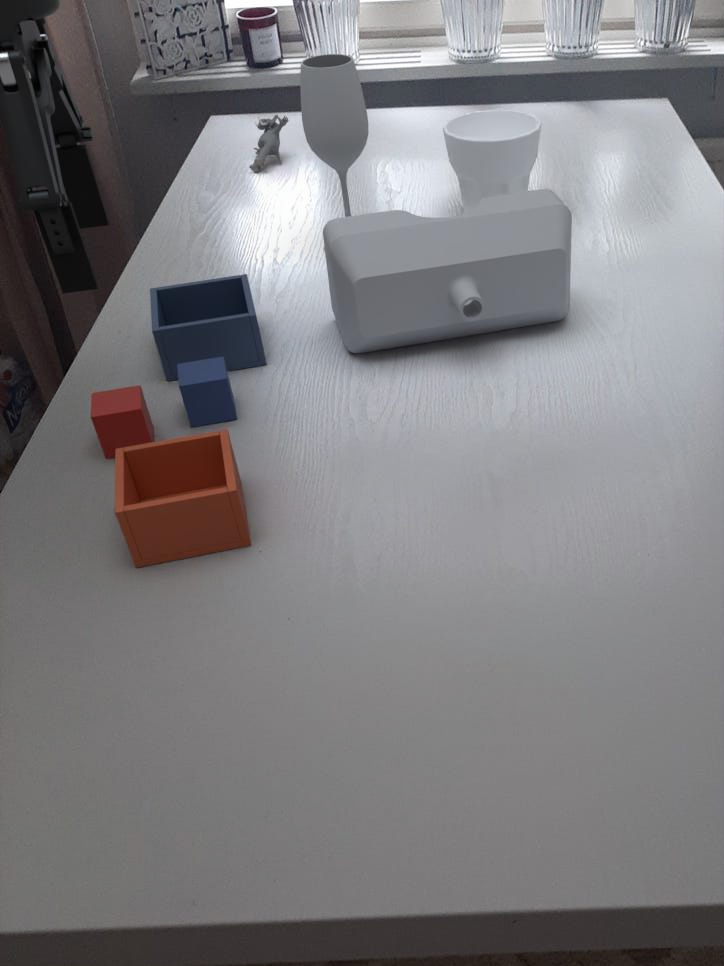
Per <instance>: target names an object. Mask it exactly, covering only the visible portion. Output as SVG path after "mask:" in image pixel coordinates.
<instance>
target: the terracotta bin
mask: <svg viewBox="0 0 724 966" xmlns="http://www.w3.org/2000/svg"><path fill="white" fill-rule="evenodd" d="M114 462H115V463H114V469H115V470H114V473H115V474H114V476H115V477H114V514H115V517H116V519H117V523H118V524H119V527H120V530H121V533H122V536H123V538H124V541H125V543H126V546H127V549H128V552H129V554H130V557H131V559H132V562H133V564H134V567H135V568H137V569H138V568H141V567H147V566H152V565H157V564H162V563H168V562H173V561H178V560H182V559H183V560H184V559H188V558H193V557H197V556H204V555H209V554H214V553H219V552H224V551H230V550H234V549H239V548H244V547H249V546H252V540H251V535H250V528H249V521H248V516H247V509H246V503H245V502H246V501H245V497H244V496H245V495H244V489H243V484H242V480H241V479H242V478H241V476H240V472H239V468H238V464H237V460H236V455H235V452H234V449H233V446H232V441H231V436H230V433H229V429H228V428H225V429H220V430H214V431H209V432H204V433H198V434H192V435H186V436H181V437H175V438H169V439H163V440H158V441H157V440H156V441H154V442H151V443H146V444H140V445H134V446H128V447H124V448H117V449H115V457H114Z"/></svg>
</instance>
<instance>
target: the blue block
mask: <svg viewBox="0 0 724 966" xmlns="http://www.w3.org/2000/svg"><path fill="white" fill-rule="evenodd" d="M177 370H178V388H179V391H180V392H179V393H180V395H181V398H182V403H183V406H184V409H185V412H186V416H187V420H188V422H189V426H190V428H195V427H196V428H197V427H202V426H206V425H213V424H218V423H225V422H230V421H235V420H238V415H237V408H236V404H235V397H234V393H233V389H232V386H231V381H230V376H229V373H228V372H229V371H227V368H226V364H225V360H224V357H217V358H211V359H205V360H199V361H193V362H187V363H180V364H177Z"/></svg>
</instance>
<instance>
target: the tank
mask: <svg viewBox="0 0 724 966" xmlns="http://www.w3.org/2000/svg"><path fill="white" fill-rule="evenodd" d="M572 221H573V215H572V211H571V210H570V209H569V206H567V205H566V204H565V202H564V201H563V200H562V199H561V198H560V197H559V196H558V194H556V193H555V192H554V190H552V189H550V188H542V189H541V188H540V189H533V190H528V191H526V192H519V193H512V194H505V195H498V196H491V197H486V198H484V199H482V200H481V201H480V203H479V205H478V206H477V207H476V208H475V209H474V210H472V211H470V212H467V213H465V214H463V213H461V214H458V215H457V214H456V215H453V216H452V215H451V216H447V217H446V216H445V217H428V216H421V215H417V214H414V213H412V212H409V211H407V210H403V209H393V210H391V209H390V210H386V211H385V210H384V211H379V212H371V213H364V214H357V215H351V216H349V217H345V216H343V217H335V218H332V219H330V220H328V221H327V222H326V223H325V225H324V226H323V228H322V239H323V248H324V247H325V251H324V254H325V255H324V256H325V261H326V262H325V263H326V270H327V271H326V272H327V280H328V289H329V296H330V304H331V310H332V314H333V316H334V319H335V321H336V325H337V328H338V331H339V334H340V337H341V340H342V342H343V345H344V347H345V349H346V350H347V351H348V352H350V353H352V354H365V353H370V352H377V351H384V350H390V349H395V348H401V347H407V346H413V345H420V344H425V343H426V344H427V343H432V342H437V341H438V342H439V341H444V340H450V339H456V338H462V337H469V336H475V335H481V334H487V333H493V332H501V331H505V330H511V329H517V328H518V329H519V328H523V327H524V328H525V327H530V326H536V325H537V326H538V325H543V324H549V323H554V322H558V321H561V320H563V319H564V318H565V317H566V316H567V315H568V314H569V311H570V306H571V270H572V268H571V267H572V230H573V229H572V227H573V226H572V223H573V222H572Z"/></svg>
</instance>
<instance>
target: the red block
mask: <svg viewBox="0 0 724 966" xmlns="http://www.w3.org/2000/svg"><path fill="white" fill-rule="evenodd" d="M90 419H91V422H92V425H93V427H94V431H95V433H96V436H97V439H98V441H99V444H100V446H101V449H102V452H103V455H104V458H105V459H113V458H115V449H117V448H124V447H128V446H134V445H140V444H146V443H151V442H155V430H154V429H155V428H154V423H153V420H152V417H151V414H150V410H149V406H148V405H147V401H146V397H145V395H144V391H143V389H142V385H140V384H138V385H133V386H127V387H121V388H113V389H109V390H103V391H102V390H101V391H96V392H91V399H90Z"/></svg>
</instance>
